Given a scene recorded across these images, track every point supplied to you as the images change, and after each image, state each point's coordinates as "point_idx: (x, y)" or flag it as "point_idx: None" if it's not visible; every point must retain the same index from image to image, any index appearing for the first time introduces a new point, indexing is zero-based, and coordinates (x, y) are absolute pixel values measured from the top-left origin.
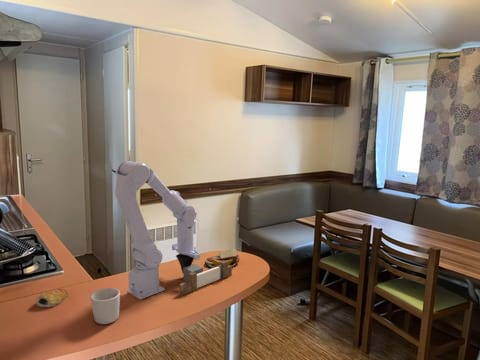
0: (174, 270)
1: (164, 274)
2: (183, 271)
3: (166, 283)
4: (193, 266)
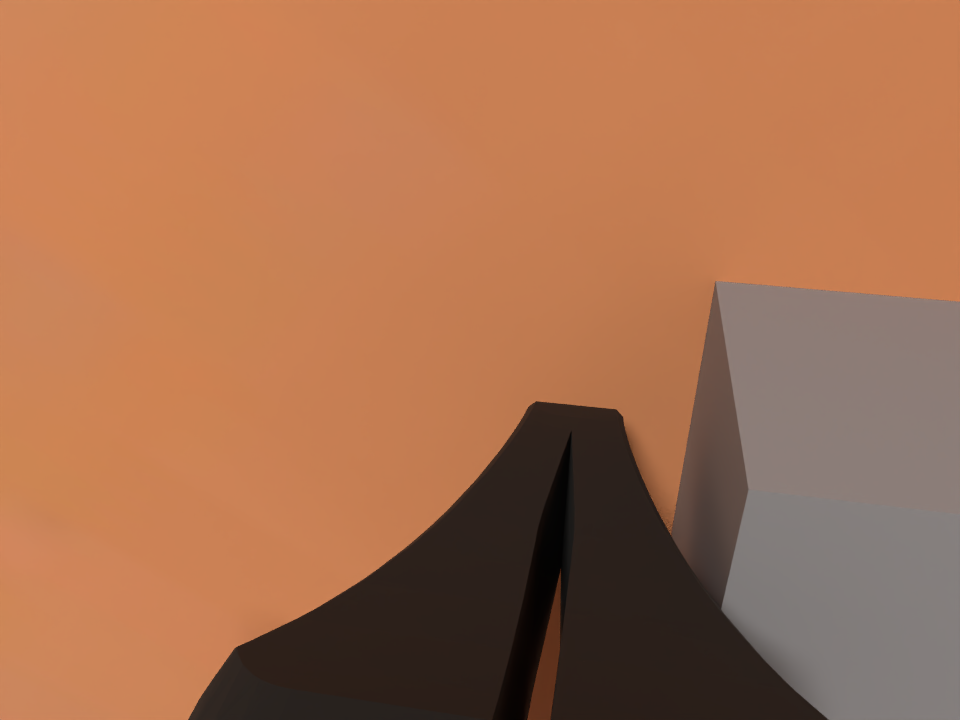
0: (157, 356)
1: (217, 552)
2: None
3: (531, 713)
4: (881, 640)
